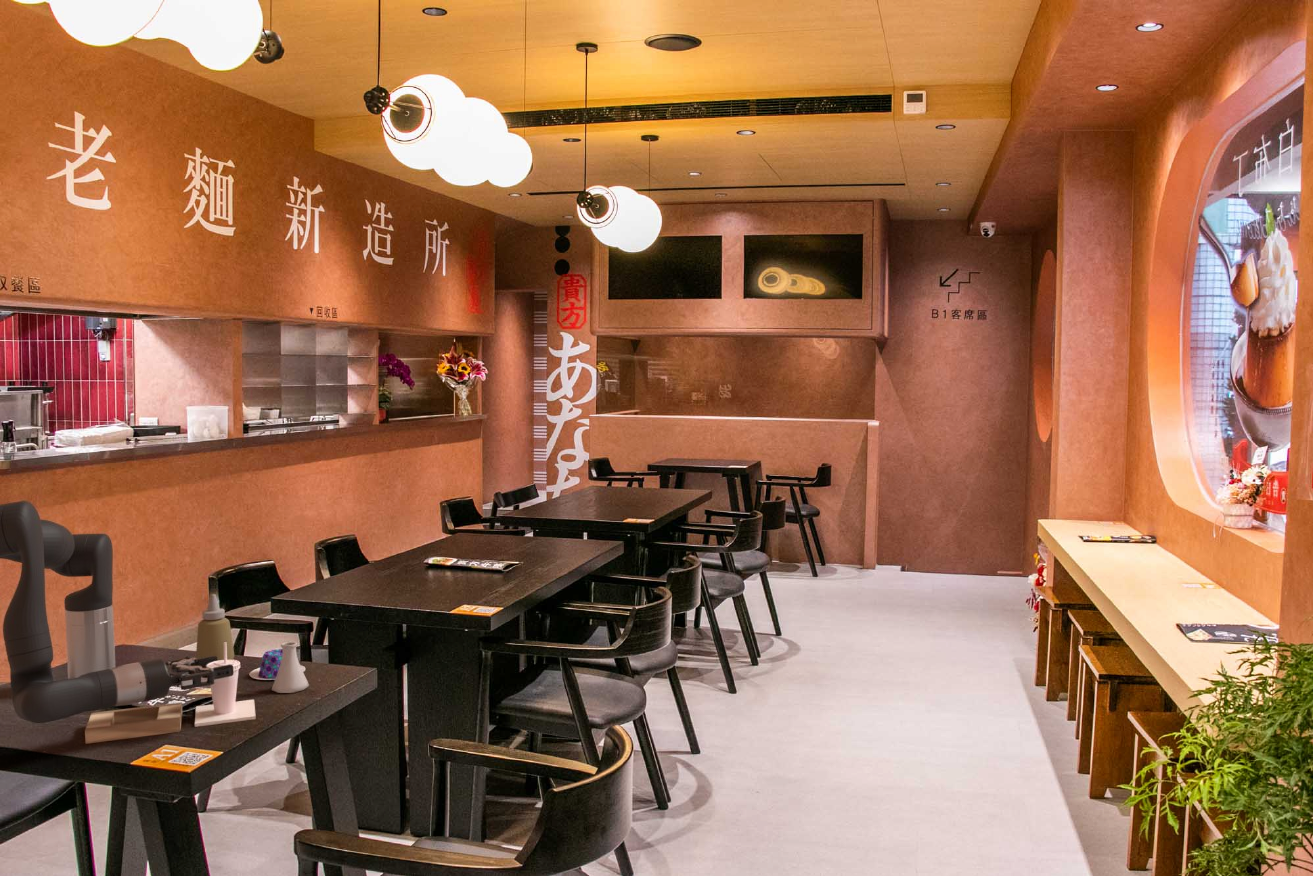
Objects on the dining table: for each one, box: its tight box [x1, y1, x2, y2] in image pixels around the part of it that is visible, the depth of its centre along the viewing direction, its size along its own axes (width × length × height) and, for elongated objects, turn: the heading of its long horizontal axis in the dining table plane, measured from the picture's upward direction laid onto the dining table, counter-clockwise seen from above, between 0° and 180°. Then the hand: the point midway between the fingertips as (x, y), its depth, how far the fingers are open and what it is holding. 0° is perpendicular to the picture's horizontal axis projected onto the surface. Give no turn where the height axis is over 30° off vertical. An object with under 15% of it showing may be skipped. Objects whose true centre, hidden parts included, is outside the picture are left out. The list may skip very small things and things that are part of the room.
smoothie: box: [206, 642, 241, 714], centre depth 208 cm, size 6×6×14 cm
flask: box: [271, 641, 310, 694], centre depth 224 cm, size 7×7×10 cm
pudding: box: [248, 648, 306, 681], centre depth 235 cm, size 12×12×5 cm
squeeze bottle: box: [195, 593, 235, 677], centre depth 236 cm, size 8×8×18 cm
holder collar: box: [84, 701, 183, 744], centre depth 200 cm, size 10×16×2 cm, turn 113°
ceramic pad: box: [194, 699, 257, 728], centre depth 208 cm, size 11×11×1 cm
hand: (224, 665), depth 208 cm, fingers open, 8 cm apart
